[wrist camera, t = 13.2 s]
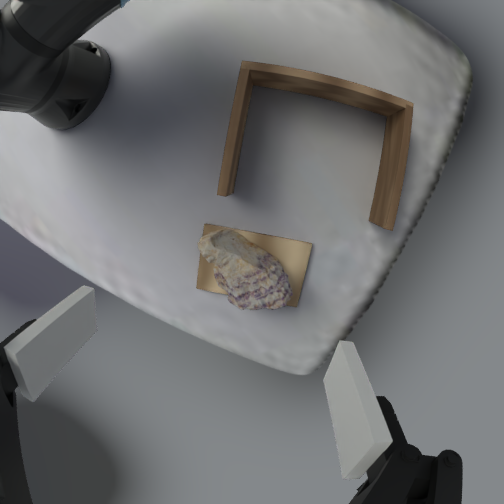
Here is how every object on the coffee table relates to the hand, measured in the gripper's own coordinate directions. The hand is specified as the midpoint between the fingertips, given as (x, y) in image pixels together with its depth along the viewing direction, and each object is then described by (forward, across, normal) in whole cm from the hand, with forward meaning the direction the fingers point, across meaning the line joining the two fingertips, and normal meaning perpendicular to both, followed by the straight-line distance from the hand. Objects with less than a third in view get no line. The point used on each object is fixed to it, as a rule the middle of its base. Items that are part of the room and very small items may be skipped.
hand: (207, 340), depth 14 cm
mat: (+24, +2, -4) cm, 25 cm away
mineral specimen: (+24, +1, -4) cm, 24 cm away
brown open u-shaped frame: (+24, +6, +12) cm, 28 cm away
